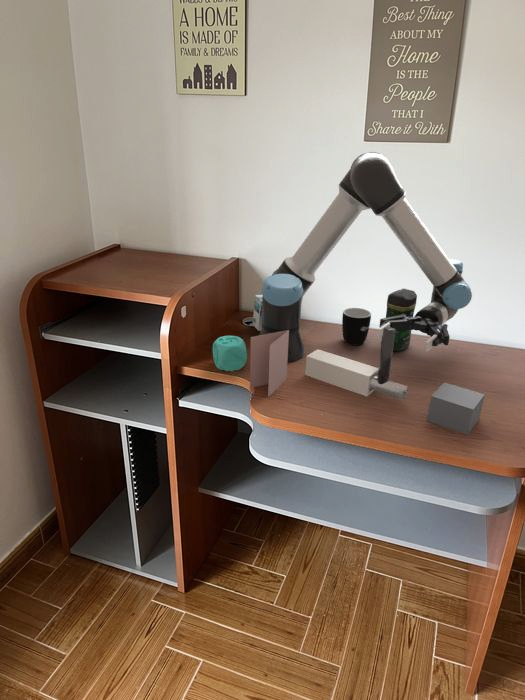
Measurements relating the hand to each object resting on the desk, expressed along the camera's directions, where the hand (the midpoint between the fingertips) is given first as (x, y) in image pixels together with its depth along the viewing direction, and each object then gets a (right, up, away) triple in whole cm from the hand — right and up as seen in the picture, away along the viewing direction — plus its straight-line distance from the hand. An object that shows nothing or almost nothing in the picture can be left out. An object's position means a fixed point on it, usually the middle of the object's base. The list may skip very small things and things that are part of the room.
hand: (401, 340), depth 145 cm
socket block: (+10, -20, -12) cm, 25 cm away
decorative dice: (-47, -7, +13) cm, 49 cm away
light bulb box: (-35, +5, +40) cm, 53 cm away
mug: (-7, 0, +32) cm, 33 cm away
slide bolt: (-11, -12, +2) cm, 16 cm away
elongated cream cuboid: (-15, -12, +5) cm, 20 cm away
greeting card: (-35, -13, +1) cm, 37 cm away
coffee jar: (+5, -2, +29) cm, 29 cm away
